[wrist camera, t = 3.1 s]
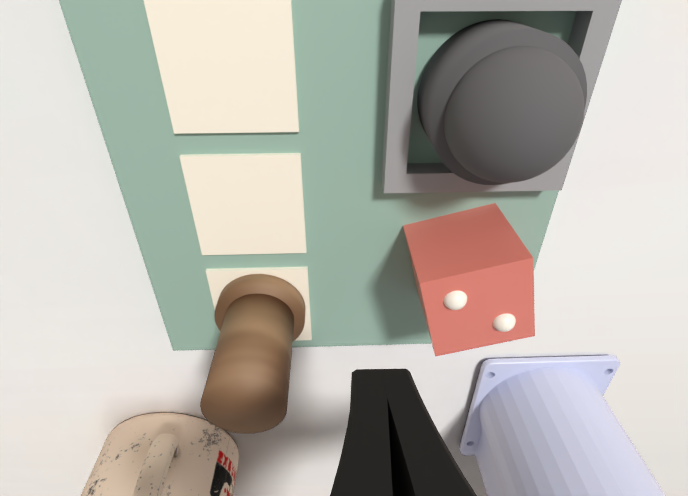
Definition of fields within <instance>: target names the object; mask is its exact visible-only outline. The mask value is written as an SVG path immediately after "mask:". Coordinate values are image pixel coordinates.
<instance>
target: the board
mask: <svg viewBox="0 0 688 496" xmlns="http://www.w3.org/2000/svg"><path fill="white" fill-rule="evenodd" d="M621 1H622V0H59V2H60V5H61V8H62V11H63V14H64V18H65V21H66V24H67V27H68V30H69V33H70V36H71V39H72V42H73V45H74V48H75V51H76V54H77V57H78V60H79V63H80V67H81V70H82V73H83V76H84V79H85V82H86V85H87V88H88V91H89V94H90V97H91V100H92V103H93V106H94V109H95V112H96V116H97V119H98V122H99V125H100V128H101V131H102V134H103V137H104V140H105V143H106V146H107V149H108V152H109V155H110V158H111V161H112V165H113V168H114V171H115V174H116V177H117V180H118V183H119V186H120V189H121V192H122V195H123V198H124V201H125V204H126V207H127V210H128V214H129V217H130V220H131V223H132V226H133V229H134V232H135V235H136V238H137V241H138V244H139V247H140V250H141V253H142V256H143V259H144V263H145V266H146V269H147V272H148V275H149V278H150V281H151V284H152V287H153V290H154V293H155V296H156V299H157V302H158V305H159V308H160V312H161V315H162V318H163V321H164V324H165V327H166V330H167V333H168V336H169V339H170V342H171V345H172V348H173V351H175V350H211V349H216V346H217V342H218V339H219V335H220V330H219V329H218V327H217V325H216V322H215V317H214V316H215V308H216V305H217V302H218V299H219V296H220V293H221V292H222V290H223V288H224V287H225V286H226V285H227V284H229V283H230V282H231V281H233V280H235V279H237V278H239V277H242V276H245V275H250V274H267V275H272V276H276V277H279V278H282V279H284V280H286V281H287V282H289V283H291V284H292V285H293V286H294V287H296V288H297V290H298V291H299V292H300V293H301V295H302V297H303V299H304V302H305V307H306V311H305V324H304V328H303V331H302V332H301V334H300V335H299V337H298V338H297V339H296V340H295V341H293V343H292V347H319V346H355V345H391V344H427V343H432V342H431V338H430V335H429V331H428V328H427V324H426V320H425V317H424V313H423V309H422V306H421V302H420V299H419V295H418V291H417V286H416V282H415V277H414V273H413V269H412V264H411V260H410V255H409V251H408V246H407V242H406V237H405V233H404V228H403V225H407V224H411V223H415V222H419V221H423V220H427V219H432V218H436V217H440V216H444V215H448V214H452V213H456V212H460V211H464V210H468V209H472V208H476V207H481V206H485V205H489V204H493V203H496V205H497V206H498V207H499V209H500V210H501V212H502V213H503V215H504V216H505V218H506V219H507V220H508V222H509V223H510V225H511V226H512V228H513V229H514V231H515V232H516V233H517V235H518V236H519V238H520V239H521V241H522V242H523V244H524V245H525V246H526V248H527V249H528V251H529V252H530V254H531V255H532V257H533V271H534V268H535V265H536V262H537V259H538V255H539V252H540V249H541V246H542V243H543V239H544V236H545V233H546V230H547V227H548V223H549V220H550V217H551V214H552V211H553V207H554V204H555V201H556V198H557V195H558V192H559V190H562V187H563V184H564V181H565V178H566V175H567V171H568V168H569V165H570V162H571V159H572V156H573V153H574V149H575V146H576V143H577V140H578V137H579V135H578V137H577V139H576V141H575V143H574V144H573V146H572V147H571V149H570V150H569V152H568V153H567V154H566V155H565V157H564V158H563V159H562V160H561V161H560V162H558V163H557V164H556V165H555V166H554V167H552V168H551V169H549V170H548V171H546V172H544V173H542V174H541V175H539V176H536V177H534V178H531V179H528V180H525V181H520V182H512V183H507V184H502V185H482V184H476V183H473V182H469V181H466V180H464V179H462V178H460V177H459V176H457V175H456V174H454V173H453V172H451V171H450V170H449V169H448V168H447V167H446V166H445V164H444V163H443V162H442V161H441V159H440V157H439V156H438V154H437V152H436V150H435V149H434V147H433V145H432V143H431V142H430V140H429V138H428V136H427V135H426V133H425V131H424V129H423V127H422V125H421V122H420V119H419V114H418V107H417V97H418V89H419V85H420V81H421V77H422V75H423V73H424V70H425V68H426V66H427V64H428V62H429V61H430V59H431V58H432V56H433V55H434V53H435V52H436V51H437V50H438V48H439V47H440V46H441V45H442V44H443V43H444V42H445V41H446V40H448V39H449V38H450V37H451V36H452V35H454V34H455V33H457V32H458V31H460V30H462V29H463V28H465V27H467V26H469V25H472V24H475V23H477V22H481V21H486V20H494V19H501V20H510V21H514V22H517V23H520V24H523V25H526V26H529V27H532V28H535V29H538V30H541V31H544V32H547V33H549V34H552V35H554V36H556V37H558V38H560V39H561V40H563V41H564V42H566V43H567V44H568V45H569V46H570V47H571V48H572V49H573V50H574V52H575V53H576V54H577V56H578V57H579V59H580V61H581V63H582V65H583V68H584V71H585V74H586V81H587V99H586V106H585V110H584V118H585V115H586V112H587V108H588V105H589V102H590V99H591V96H592V93H593V89H594V86H595V83H596V80H597V77H598V74H599V71H600V67H601V64H602V61H603V58H604V55H605V52H606V49H607V45H608V42H609V39H610V36H611V33H612V30H613V26H614V23H615V20H616V17H617V14H618V11H619V8H620V4H621ZM584 118H583V121H584ZM582 124H583V123H582ZM579 134H580V132H579Z"/></svg>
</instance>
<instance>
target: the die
mask: <svg viewBox="0 0 688 496" xmlns="http://www.w3.org/2000/svg"><path fill="white" fill-rule="evenodd" d="M403 228H404V233H405V237H406V242H407V246H408V251H409V255H410V260H411V264H412V269H413V273H414V277H415V282H416V286H417V291H418V295H419V299H420V302H421V306H422V309H423V313H424V317H425V320H426V324H427V328H428V331H429V335H430V338H431V342H432V346H433V349H434V353H435V356H439V355H444V354H449V353H454V352H459V351H464V350H469V349H473V348H478V347H483V346H488V345H493V344H498V343H502V342H507V341H512V340H517V339H522V338H527V337H532V336H535V326H534V273H533V257H532V255H531V254H530V252H529V251H528V249H527V248H526V246H525V245H524V244H523V242H522V241H521V239H520V238H519V236H518V235H517V233H516V232H515V231H514V229H513V228H512V226H511V225H510V223H509V222H508V220H507V219H506V218H505V216H504V215H503V213H502V212H501V210H500V209H499V207H498V206H497V205H496V203H493V204H489V205H485V206H481V207H476V208H472V209H468V210H464V211H460V212H456V213H452V214H448V215H444V216H440V217H436V218H432V219H427V220H423V221H419V222H415V223H411V224H407V225H403Z"/></svg>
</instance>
